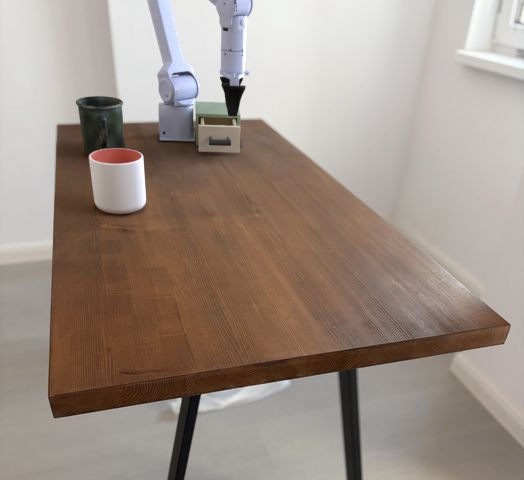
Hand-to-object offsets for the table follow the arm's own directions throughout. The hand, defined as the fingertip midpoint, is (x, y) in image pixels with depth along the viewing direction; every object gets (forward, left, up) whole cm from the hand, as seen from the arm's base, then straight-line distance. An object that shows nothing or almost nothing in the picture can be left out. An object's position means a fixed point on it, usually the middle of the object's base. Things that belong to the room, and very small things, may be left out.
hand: (231, 112), depth 135 cm
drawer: (-3, +3, -10) cm, 10 cm away
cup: (-24, -36, -11) cm, 45 cm away
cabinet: (-3, +14, -10) cm, 18 cm away
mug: (-31, -3, -11) cm, 33 cm away
